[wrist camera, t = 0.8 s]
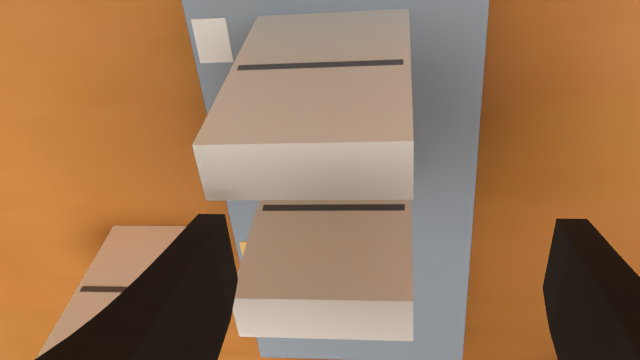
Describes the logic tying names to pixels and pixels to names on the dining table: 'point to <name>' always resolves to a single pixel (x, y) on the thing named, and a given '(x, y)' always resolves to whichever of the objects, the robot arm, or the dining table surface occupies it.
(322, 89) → the domino
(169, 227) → the placed domino
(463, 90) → the domino board
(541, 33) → the dining table surface
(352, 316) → the domino
